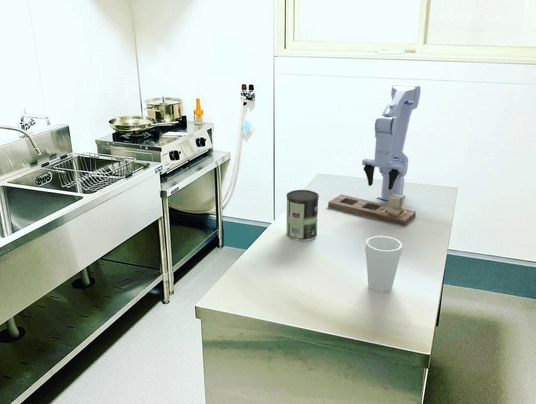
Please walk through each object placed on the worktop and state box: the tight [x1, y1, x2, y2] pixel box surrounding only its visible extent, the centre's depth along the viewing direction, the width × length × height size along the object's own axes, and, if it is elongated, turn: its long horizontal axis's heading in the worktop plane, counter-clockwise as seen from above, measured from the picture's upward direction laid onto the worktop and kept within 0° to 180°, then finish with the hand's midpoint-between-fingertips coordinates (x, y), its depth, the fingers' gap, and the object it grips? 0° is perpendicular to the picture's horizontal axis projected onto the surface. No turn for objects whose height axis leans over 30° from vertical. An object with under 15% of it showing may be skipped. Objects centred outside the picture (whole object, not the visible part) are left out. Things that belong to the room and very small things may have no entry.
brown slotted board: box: [327, 193, 417, 227], centre depth 193 cm, size 10×30×2 cm, turn 55°
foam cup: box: [364, 235, 403, 294], centre depth 141 cm, size 10×9×13 cm
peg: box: [387, 194, 405, 216], centre depth 187 cm, size 4×4×8 cm
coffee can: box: [286, 189, 320, 242], centre depth 172 cm, size 10×10×14 cm
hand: (380, 187), depth 191 cm, fingers open, 7 cm apart
